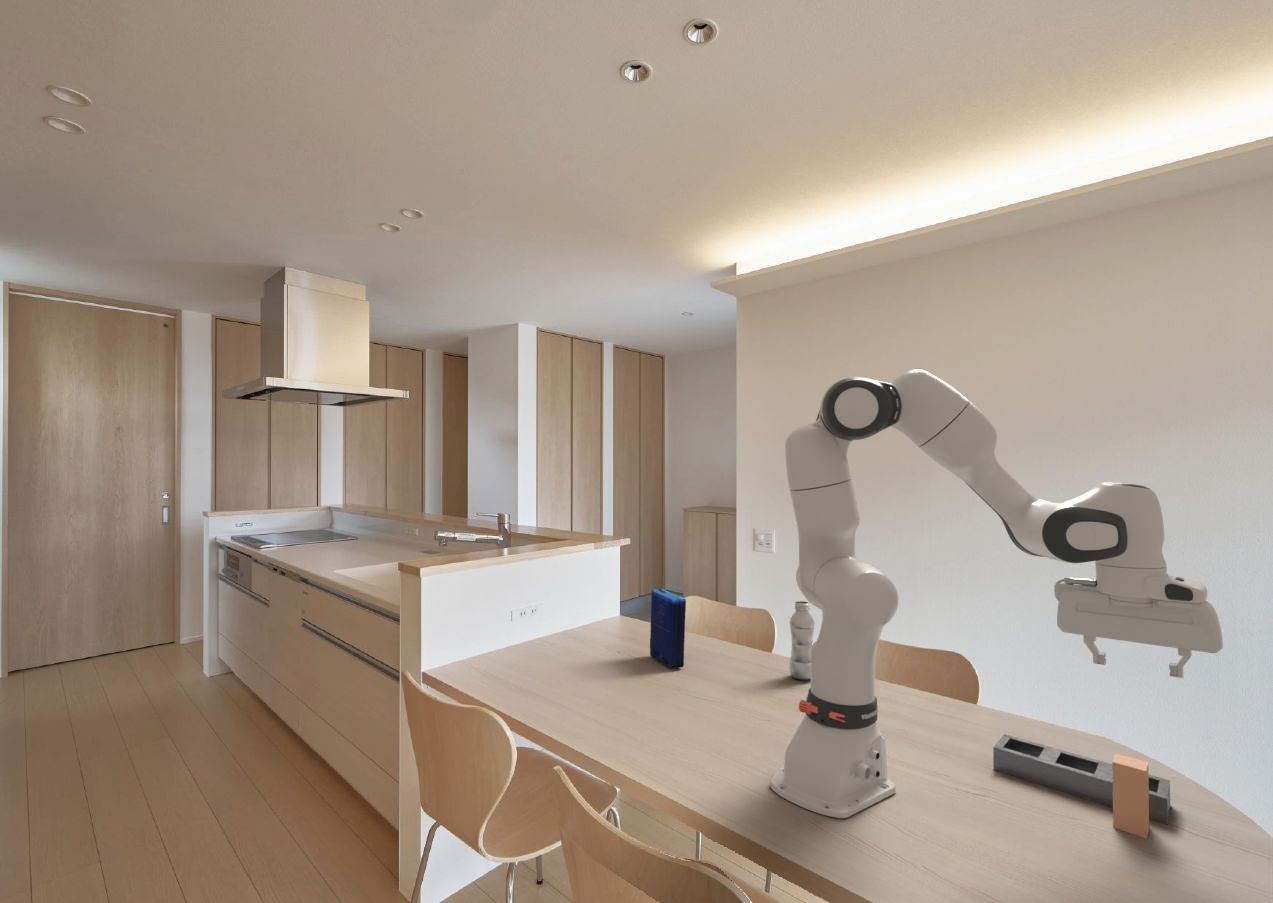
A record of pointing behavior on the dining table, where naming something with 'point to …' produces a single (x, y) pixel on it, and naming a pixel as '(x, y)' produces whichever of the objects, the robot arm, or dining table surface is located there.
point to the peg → (1130, 795)
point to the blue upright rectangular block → (667, 628)
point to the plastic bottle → (801, 641)
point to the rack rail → (1072, 773)
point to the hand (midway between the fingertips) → (1136, 669)
